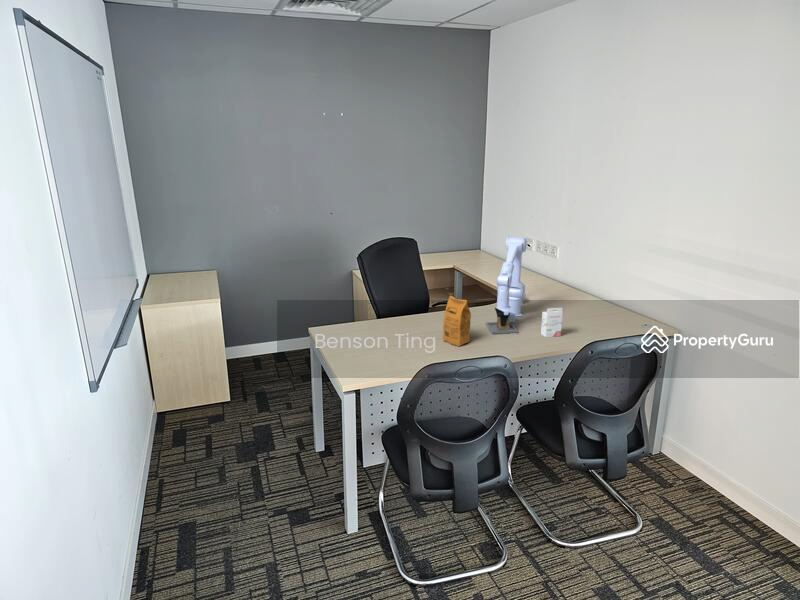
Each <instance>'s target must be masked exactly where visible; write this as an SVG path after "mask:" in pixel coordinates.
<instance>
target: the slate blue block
mask: <svg viewBox="0 0 800 600" xmlns="http://www.w3.org/2000/svg"><path fill="white" fill-rule="evenodd" d="M508 313H510V316H509V317H508V319H509V320H510V322H513V323H516V322H515V321H516V316H515V314H514V313H512V312H508Z"/></svg>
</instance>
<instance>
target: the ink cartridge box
mask: <svg viewBox="0 0 800 600" xmlns="http://www.w3.org/2000/svg"><path fill="white" fill-rule="evenodd" d="M541 313H542V314H541V316H542V317H541V327H540V328H541V330H540V334H541V335H542V336H543V337H544V338H551V337H553V338H554V336H555V337H562V325H563V316H564V315H563V307H551V308H550V307H549V308H547V309H546V311H542V312H541Z"/></svg>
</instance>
